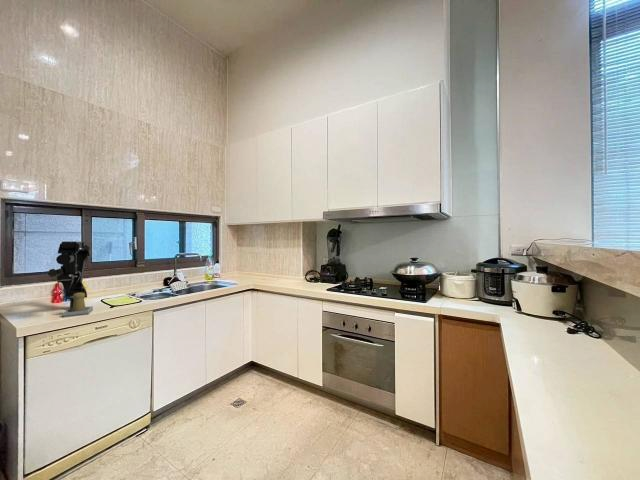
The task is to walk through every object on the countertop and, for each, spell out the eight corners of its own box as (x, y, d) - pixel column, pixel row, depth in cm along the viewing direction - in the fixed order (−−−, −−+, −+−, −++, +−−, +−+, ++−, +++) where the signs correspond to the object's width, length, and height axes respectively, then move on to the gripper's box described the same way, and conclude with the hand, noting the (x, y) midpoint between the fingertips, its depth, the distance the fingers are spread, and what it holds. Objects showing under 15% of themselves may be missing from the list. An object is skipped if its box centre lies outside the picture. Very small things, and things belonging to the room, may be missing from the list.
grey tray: (69, 312, 149) (69, 308, 149) (92, 310, 154) (92, 306, 154) (62, 317, 140) (62, 313, 140) (88, 314, 145) (88, 310, 145)
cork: (83, 312, 146) (83, 293, 146) (69, 314, 143) (69, 294, 143) (87, 310, 151) (88, 291, 151) (74, 311, 149) (74, 292, 149)
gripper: (56, 262, 151) (56, 289, 151) (43, 265, 135) (42, 295, 135) (81, 261, 157) (81, 287, 157) (71, 264, 141) (71, 293, 141)
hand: (69, 290), depth 147 cm, fingers open, 9 cm apart
